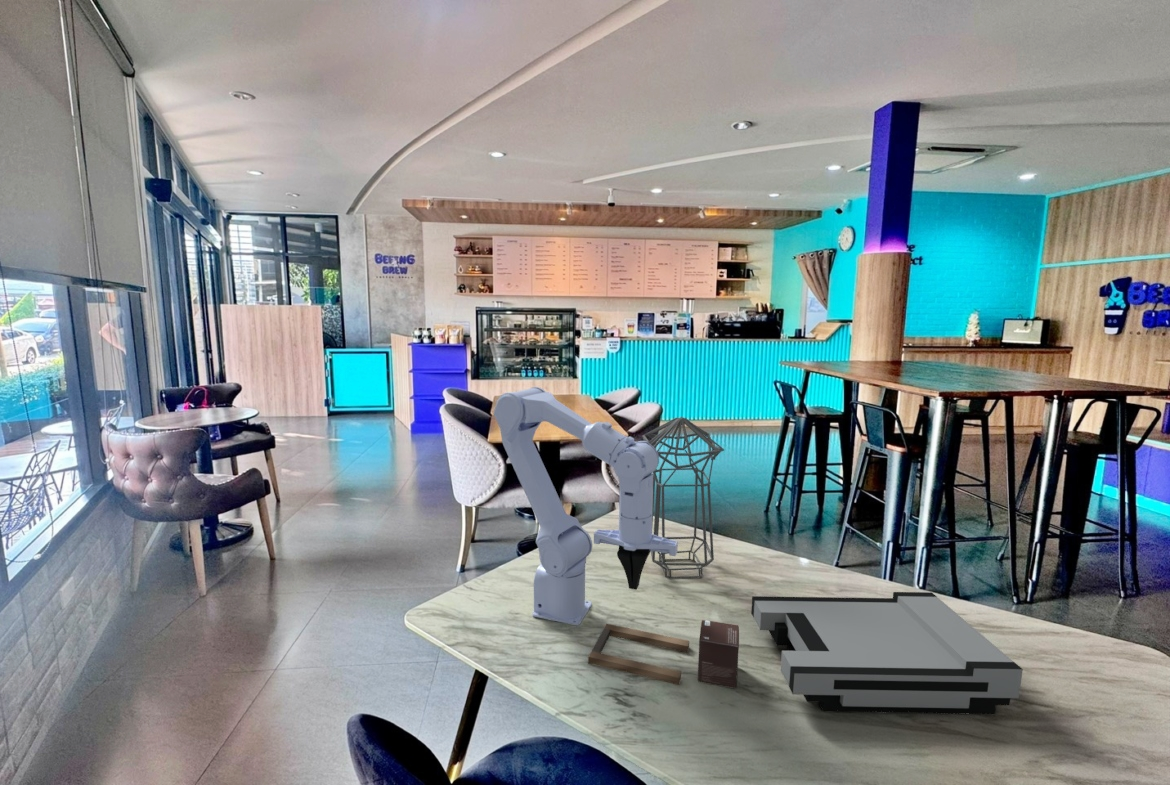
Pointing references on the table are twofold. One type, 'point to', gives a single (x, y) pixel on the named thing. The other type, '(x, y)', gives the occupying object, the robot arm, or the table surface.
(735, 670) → the box
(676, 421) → the geometric lantern
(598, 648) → the wooden u-shaped frame
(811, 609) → the game console
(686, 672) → the table surface
